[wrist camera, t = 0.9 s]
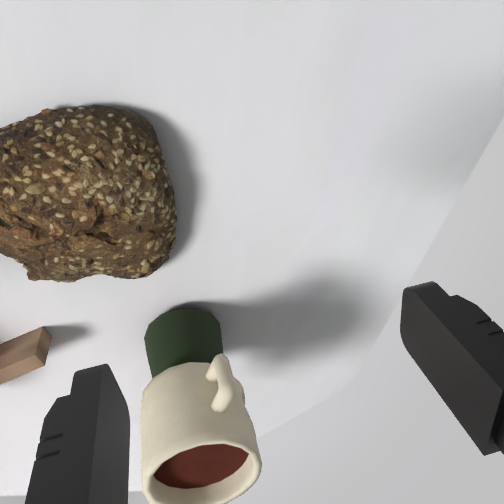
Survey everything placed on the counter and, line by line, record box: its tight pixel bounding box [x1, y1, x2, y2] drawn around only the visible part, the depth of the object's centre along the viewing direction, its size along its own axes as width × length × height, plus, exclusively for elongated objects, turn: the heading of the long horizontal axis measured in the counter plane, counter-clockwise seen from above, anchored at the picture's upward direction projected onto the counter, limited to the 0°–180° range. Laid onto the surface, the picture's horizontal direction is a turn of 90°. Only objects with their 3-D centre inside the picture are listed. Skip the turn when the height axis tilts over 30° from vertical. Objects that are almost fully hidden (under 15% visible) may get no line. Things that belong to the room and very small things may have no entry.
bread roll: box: [0, 105, 177, 283], centre depth 26 cm, size 13×12×5 cm
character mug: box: [141, 309, 262, 504], centre depth 30 cm, size 11×7×13 cm, turn 156°
